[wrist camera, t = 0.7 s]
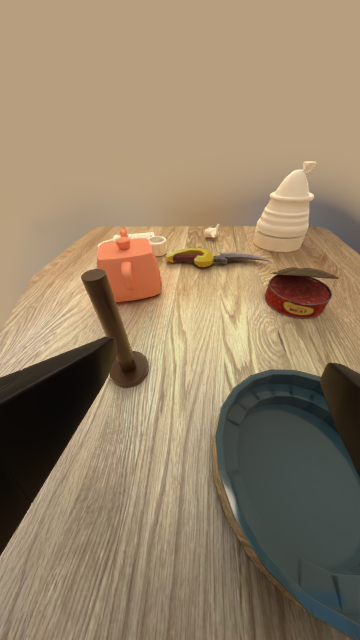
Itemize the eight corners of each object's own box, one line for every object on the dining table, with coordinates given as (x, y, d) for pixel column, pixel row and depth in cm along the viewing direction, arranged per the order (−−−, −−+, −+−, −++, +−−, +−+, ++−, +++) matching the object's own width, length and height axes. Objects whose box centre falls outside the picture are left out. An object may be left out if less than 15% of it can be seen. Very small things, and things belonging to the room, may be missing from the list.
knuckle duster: (164, 239, 60) (169, 260, 50) (106, 244, 59) (98, 267, 48) (163, 228, 58) (168, 247, 47) (103, 233, 57) (93, 254, 46)
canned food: (258, 319, 39) (246, 273, 35) (291, 298, 42) (282, 253, 38) (318, 332, 29) (310, 269, 25) (355, 302, 32) (351, 242, 28)
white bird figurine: (198, 232, 62) (204, 216, 59) (211, 235, 64) (217, 221, 61) (206, 241, 56) (213, 224, 53) (220, 245, 58) (227, 229, 55)
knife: (264, 256, 49) (168, 254, 52) (266, 246, 48) (167, 245, 50) (271, 271, 44) (163, 269, 46) (274, 260, 42) (162, 258, 44)
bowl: (458, 693, 10) (572, 764, 7) (191, 542, 15) (191, 547, 12) (368, 416, 21) (400, 397, 18) (227, 374, 25) (232, 353, 22)
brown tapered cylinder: (137, 392, 23) (99, 296, 14) (103, 380, 25) (46, 285, 15) (155, 360, 27) (134, 264, 17) (124, 351, 28) (89, 258, 18)
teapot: (103, 319, 34) (80, 264, 26) (108, 270, 46) (93, 225, 39) (167, 308, 35) (162, 253, 28) (155, 264, 48) (149, 219, 41)
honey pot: (293, 234, 59) (320, 159, 47) (307, 252, 50) (346, 164, 38) (250, 234, 61) (265, 161, 49) (256, 251, 52) (277, 166, 39)
